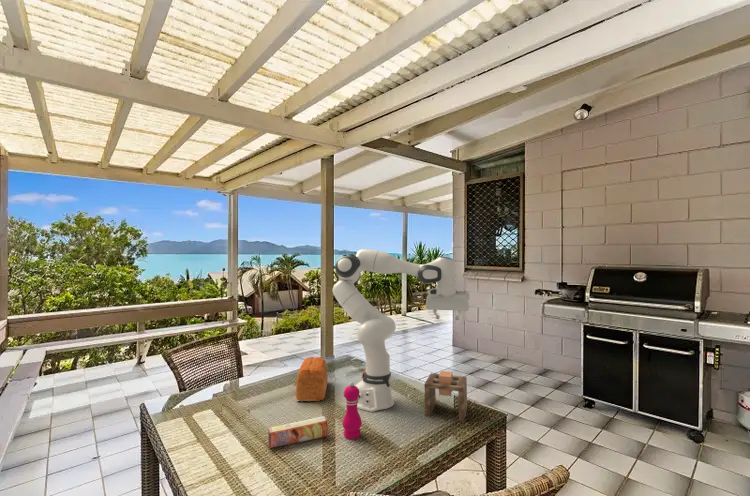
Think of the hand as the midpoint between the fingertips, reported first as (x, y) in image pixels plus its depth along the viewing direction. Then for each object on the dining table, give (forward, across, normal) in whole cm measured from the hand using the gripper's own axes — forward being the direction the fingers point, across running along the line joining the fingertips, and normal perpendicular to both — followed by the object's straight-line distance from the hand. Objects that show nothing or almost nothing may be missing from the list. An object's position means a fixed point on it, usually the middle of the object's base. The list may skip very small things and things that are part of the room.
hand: (447, 319), depth 166 cm
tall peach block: (+29, -1, +15) cm, 33 cm away
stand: (+37, -1, +15) cm, 40 cm away
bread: (+37, +67, +12) cm, 78 cm away
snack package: (+38, +48, +56) cm, 82 cm away
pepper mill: (+37, +30, +46) cm, 66 cm away
